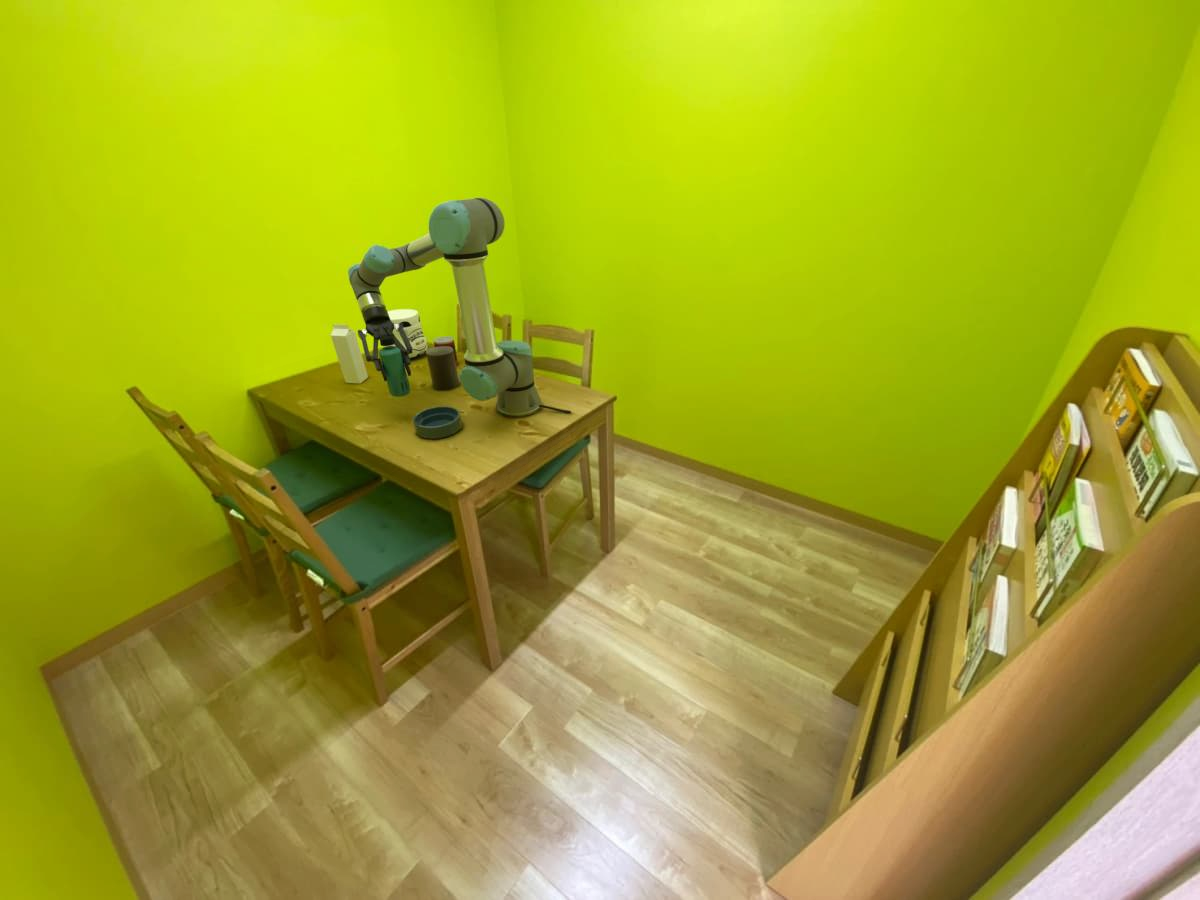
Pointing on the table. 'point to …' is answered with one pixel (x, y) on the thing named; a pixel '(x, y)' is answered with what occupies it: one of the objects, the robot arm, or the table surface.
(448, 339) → the canned food
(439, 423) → the dish
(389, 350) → the beverage bottle
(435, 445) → the table surface
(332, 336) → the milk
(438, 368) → the pillar candle
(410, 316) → the milk container
